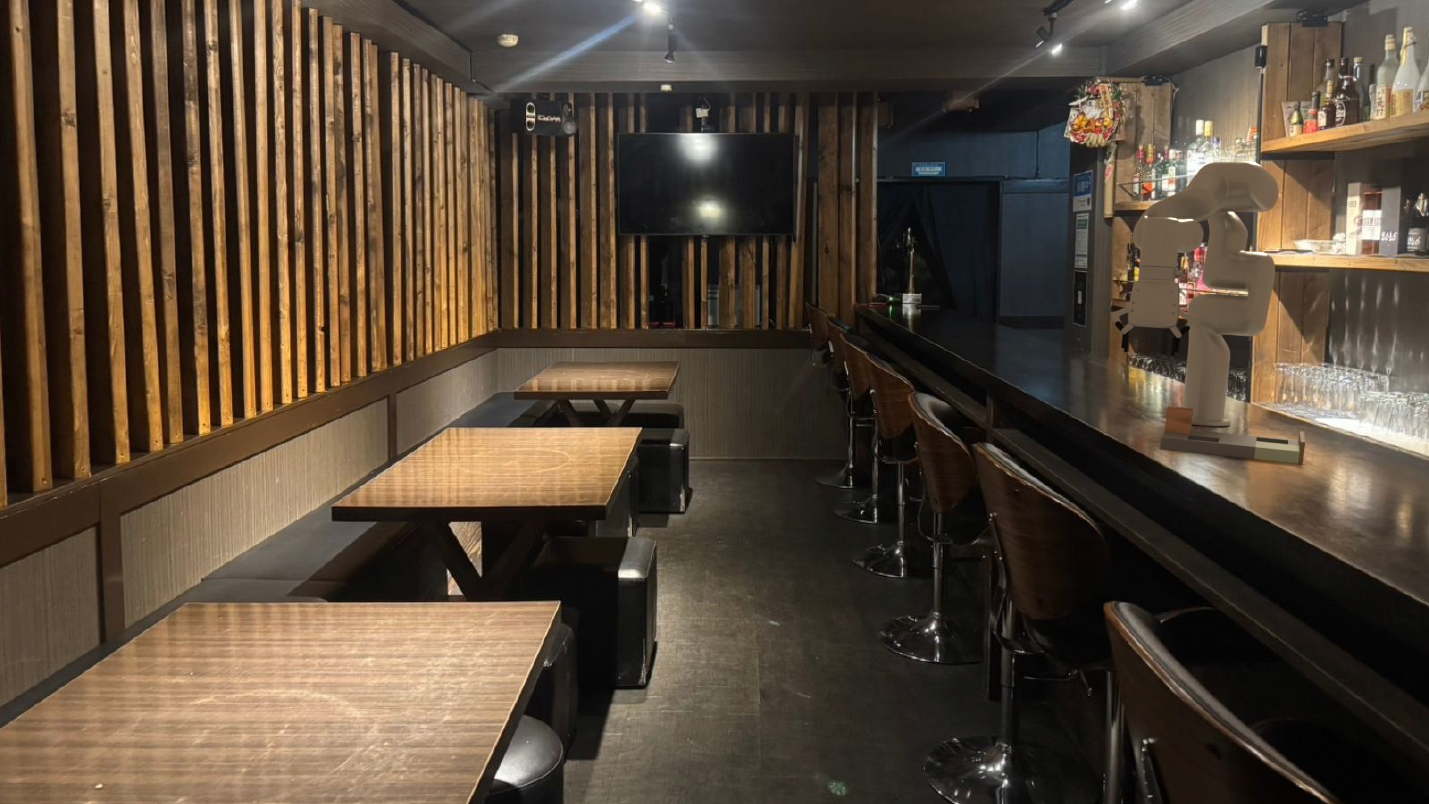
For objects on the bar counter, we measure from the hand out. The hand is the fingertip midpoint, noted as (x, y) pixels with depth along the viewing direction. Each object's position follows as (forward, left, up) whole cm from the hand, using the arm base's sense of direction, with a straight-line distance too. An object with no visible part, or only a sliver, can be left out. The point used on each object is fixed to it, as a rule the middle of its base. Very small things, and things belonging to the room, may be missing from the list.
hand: (1149, 353), depth 243 cm
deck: (+3, +18, -19) cm, 26 cm away
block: (-1, +7, -17) cm, 18 cm away
